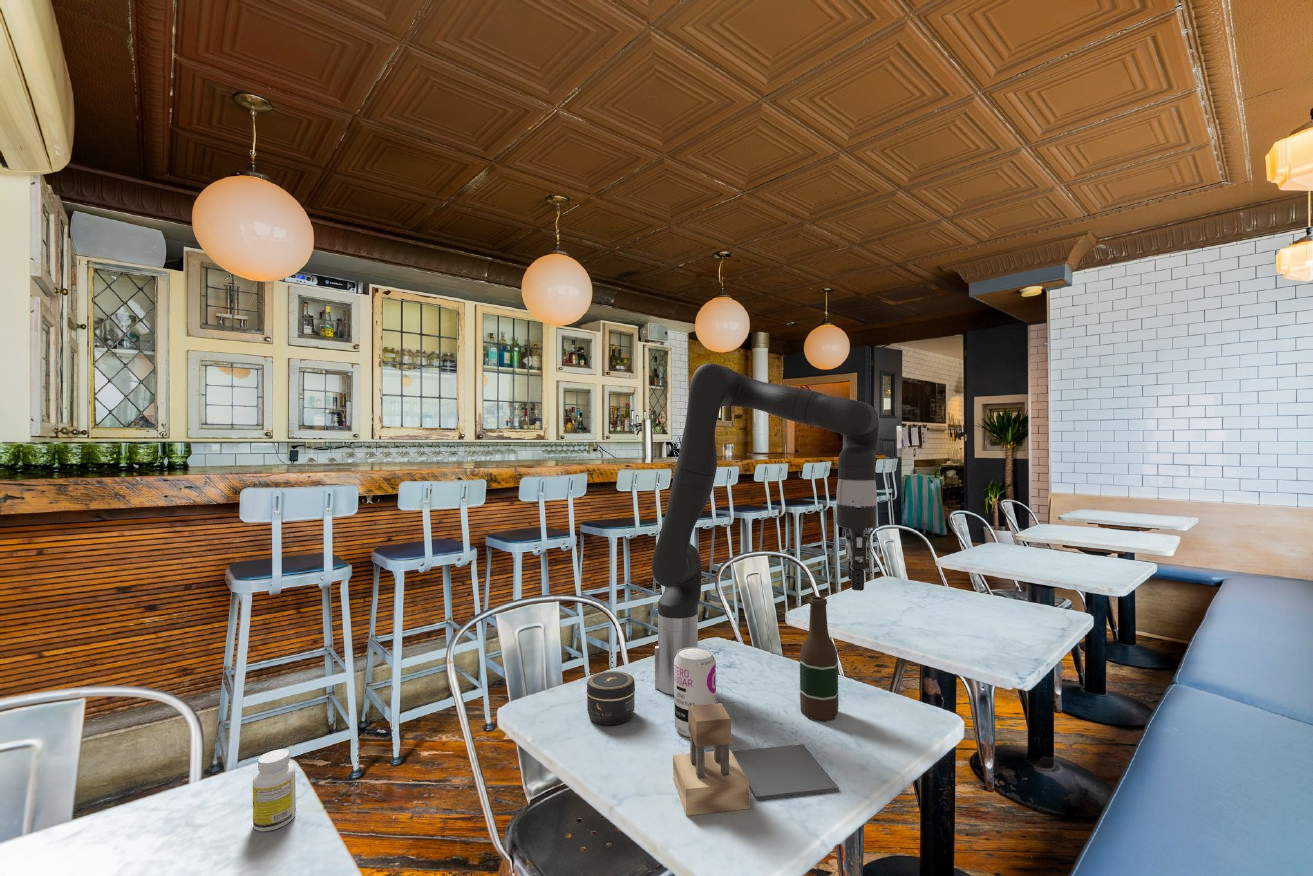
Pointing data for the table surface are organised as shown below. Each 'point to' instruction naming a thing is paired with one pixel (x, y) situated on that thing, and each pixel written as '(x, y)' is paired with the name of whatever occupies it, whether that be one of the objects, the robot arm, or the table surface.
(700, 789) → the step
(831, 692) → the beer bottle
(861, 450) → the robot arm
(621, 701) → the jar
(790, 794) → the mat
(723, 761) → the stool
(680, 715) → the supplement can
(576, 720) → the table surface
